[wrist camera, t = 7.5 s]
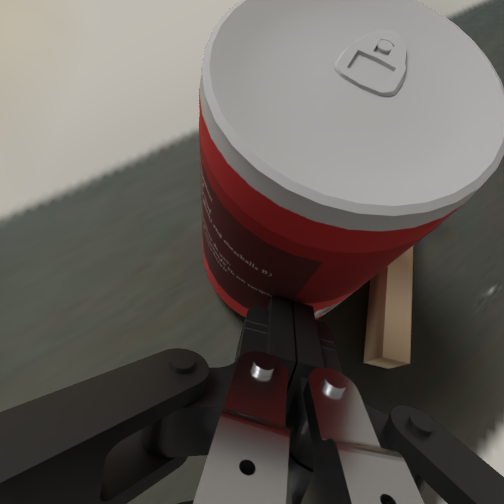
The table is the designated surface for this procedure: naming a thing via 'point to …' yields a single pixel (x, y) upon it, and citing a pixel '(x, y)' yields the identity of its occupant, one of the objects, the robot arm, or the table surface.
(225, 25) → the canned food
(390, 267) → the bar
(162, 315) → the table surface
